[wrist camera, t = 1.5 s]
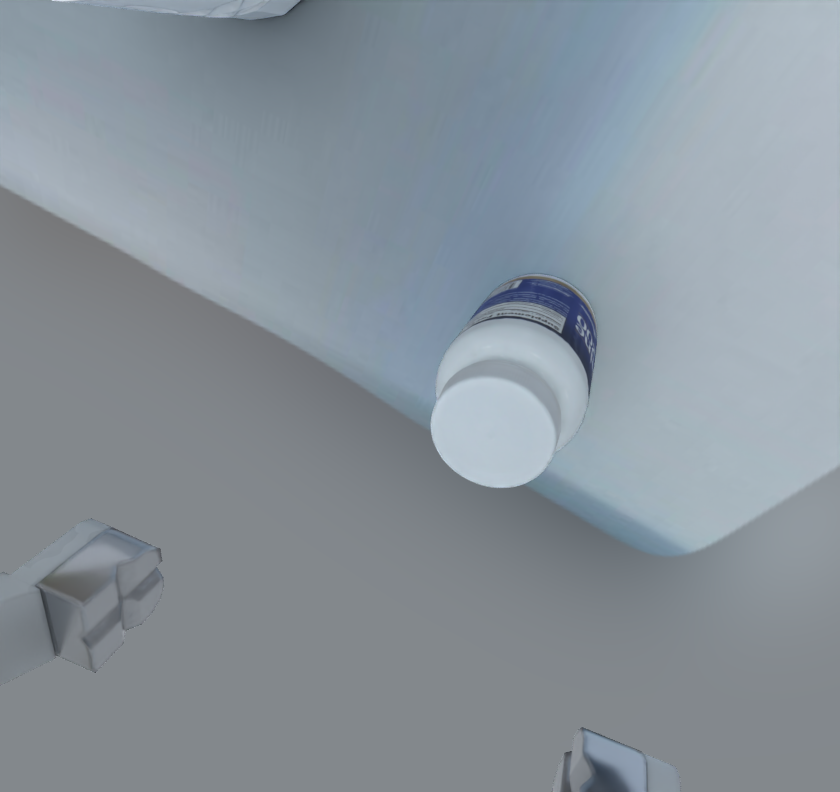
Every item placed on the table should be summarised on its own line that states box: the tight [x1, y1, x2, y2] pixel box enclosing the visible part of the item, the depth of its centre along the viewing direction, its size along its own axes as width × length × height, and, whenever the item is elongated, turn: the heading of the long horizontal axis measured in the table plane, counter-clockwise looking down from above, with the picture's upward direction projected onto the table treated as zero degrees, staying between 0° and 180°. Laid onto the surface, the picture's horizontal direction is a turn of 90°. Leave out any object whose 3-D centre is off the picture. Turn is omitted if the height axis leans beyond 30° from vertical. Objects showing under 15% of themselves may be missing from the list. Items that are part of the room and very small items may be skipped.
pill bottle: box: [431, 274, 597, 488], centre depth 22 cm, size 5×5×10 cm
